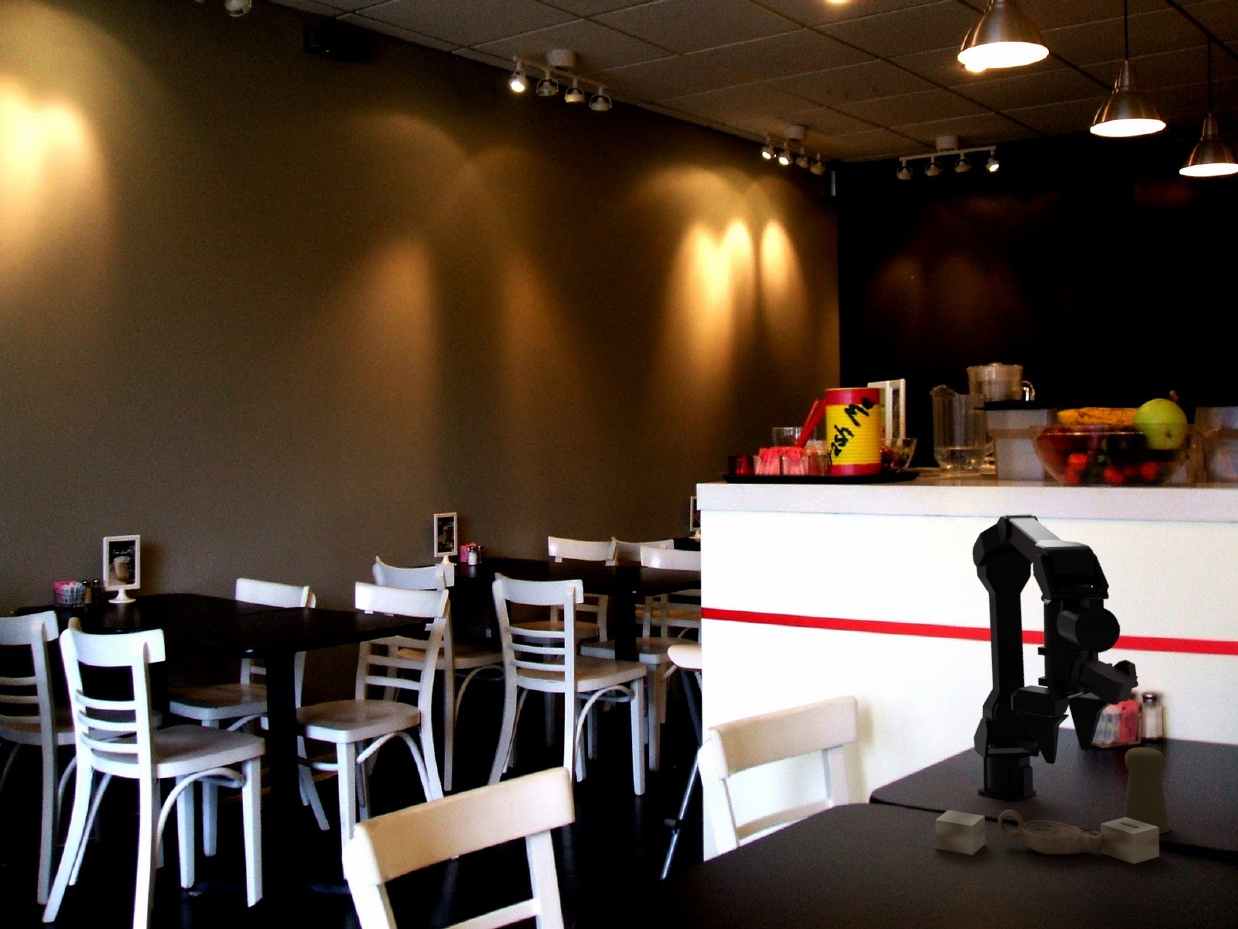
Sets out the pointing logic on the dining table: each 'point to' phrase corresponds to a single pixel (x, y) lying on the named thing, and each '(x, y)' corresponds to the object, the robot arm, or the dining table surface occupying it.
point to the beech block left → (960, 832)
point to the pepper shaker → (1146, 787)
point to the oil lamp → (1051, 835)
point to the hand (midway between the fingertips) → (1068, 756)
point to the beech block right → (1130, 840)
